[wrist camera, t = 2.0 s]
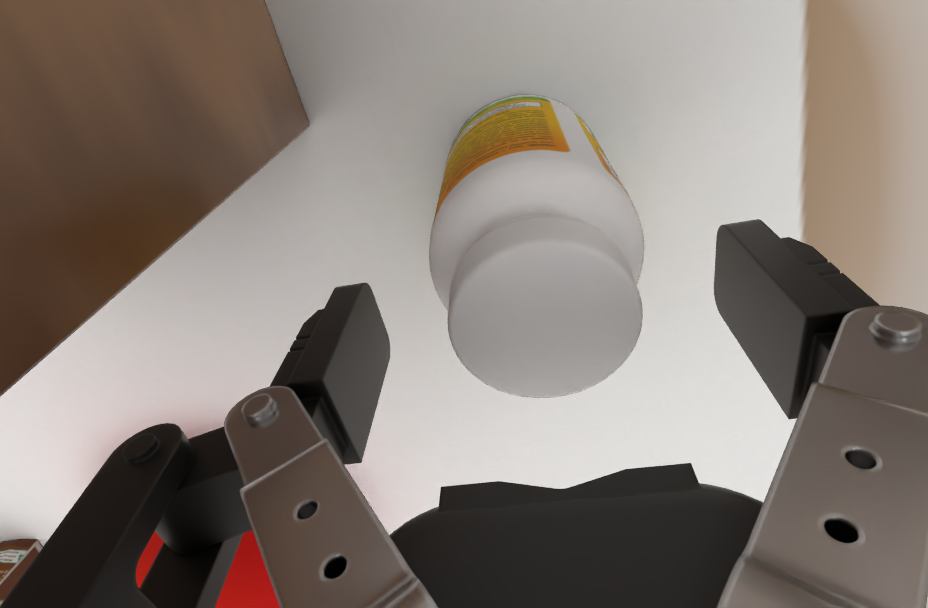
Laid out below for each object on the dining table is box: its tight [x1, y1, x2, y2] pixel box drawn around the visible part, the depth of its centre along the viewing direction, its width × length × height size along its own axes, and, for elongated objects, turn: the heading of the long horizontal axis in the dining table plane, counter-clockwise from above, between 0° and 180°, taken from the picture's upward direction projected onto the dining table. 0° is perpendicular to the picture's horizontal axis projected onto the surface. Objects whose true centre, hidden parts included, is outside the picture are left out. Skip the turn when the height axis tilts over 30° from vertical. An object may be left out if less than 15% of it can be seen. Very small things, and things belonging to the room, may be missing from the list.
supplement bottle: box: [429, 95, 644, 398], centre depth 15 cm, size 5×5×10 cm
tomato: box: [136, 530, 280, 608], centre depth 26 cm, size 14×13×10 cm
